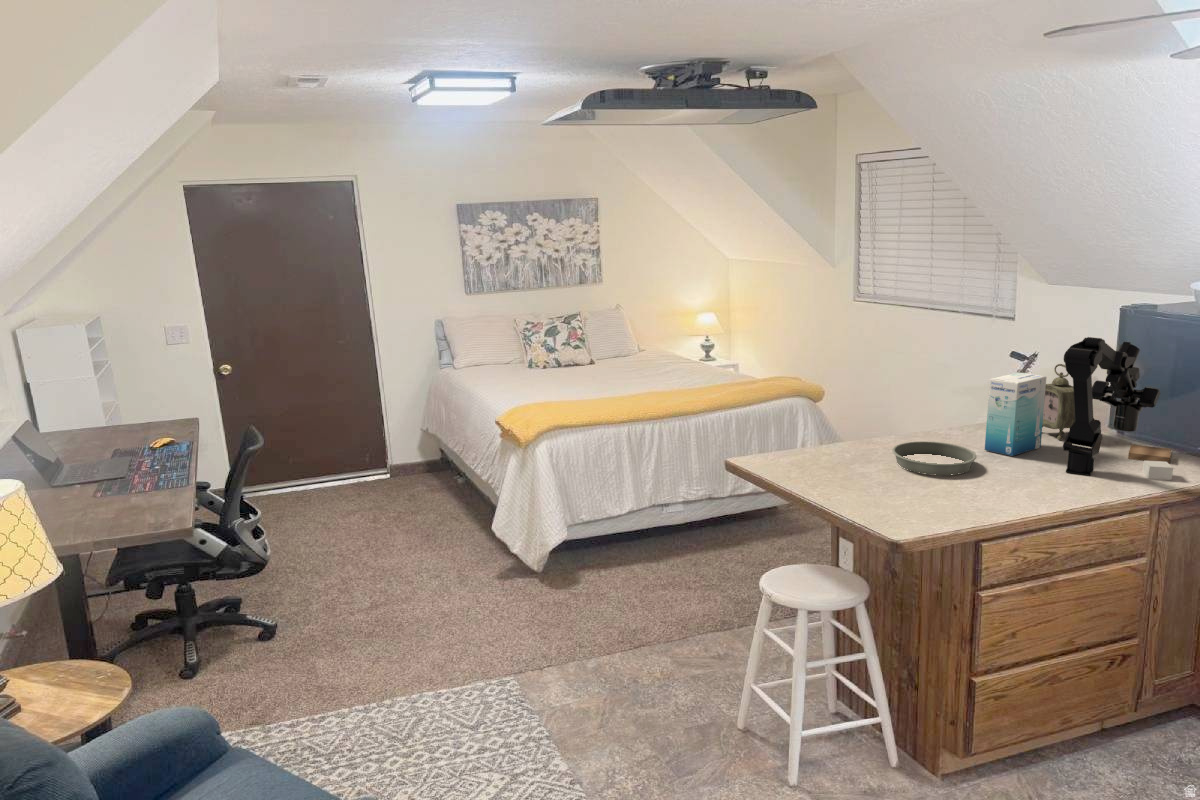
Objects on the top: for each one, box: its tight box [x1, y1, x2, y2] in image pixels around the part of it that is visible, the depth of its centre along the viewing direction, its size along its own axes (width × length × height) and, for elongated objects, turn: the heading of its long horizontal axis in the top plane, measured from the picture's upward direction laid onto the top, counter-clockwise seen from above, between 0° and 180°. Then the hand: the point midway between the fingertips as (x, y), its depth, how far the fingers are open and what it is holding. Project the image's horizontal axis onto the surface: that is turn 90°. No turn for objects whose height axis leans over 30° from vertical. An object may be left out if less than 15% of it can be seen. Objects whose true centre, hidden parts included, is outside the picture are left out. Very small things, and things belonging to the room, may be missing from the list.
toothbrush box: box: [984, 372, 1047, 457], centre depth 290 cm, size 18×10×24 cm, turn 126°
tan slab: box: [1127, 443, 1172, 465], centre depth 281 cm, size 11×11×2 cm
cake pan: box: [891, 441, 978, 476], centre depth 278 cm, size 25×25×4 cm
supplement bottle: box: [1112, 397, 1140, 433], centre depth 287 cm, size 7×7×12 cm
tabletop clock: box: [1042, 363, 1075, 441], centre depth 304 cm, size 14×9×25 cm, turn 10°
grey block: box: [1142, 461, 1174, 481], centre depth 262 cm, size 6×6×4 cm
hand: (1129, 408), depth 288 cm, fingers closed on supplement bottle, 7 cm apart
